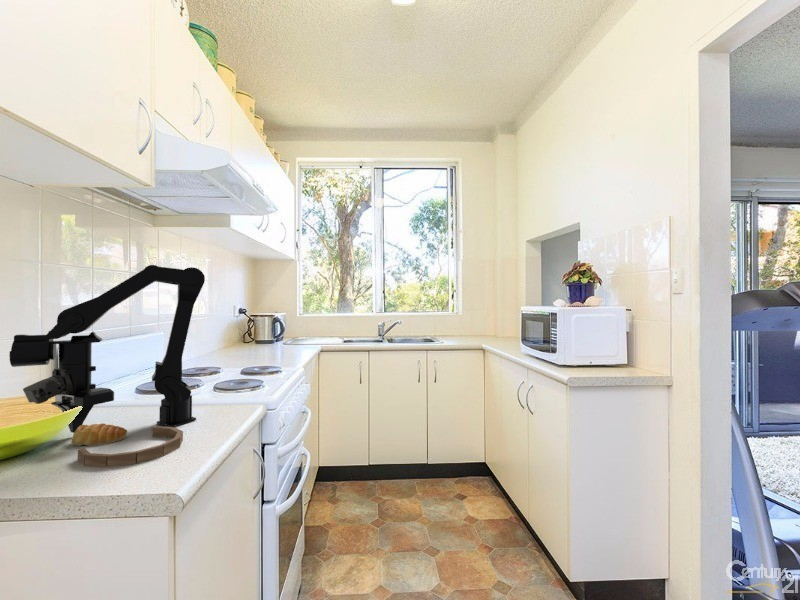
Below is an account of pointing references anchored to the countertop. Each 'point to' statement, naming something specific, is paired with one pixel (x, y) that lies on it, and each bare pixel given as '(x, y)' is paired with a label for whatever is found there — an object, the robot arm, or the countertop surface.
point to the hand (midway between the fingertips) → (74, 432)
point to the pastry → (97, 434)
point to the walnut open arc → (135, 456)
